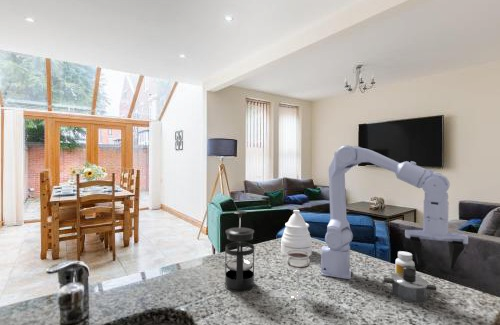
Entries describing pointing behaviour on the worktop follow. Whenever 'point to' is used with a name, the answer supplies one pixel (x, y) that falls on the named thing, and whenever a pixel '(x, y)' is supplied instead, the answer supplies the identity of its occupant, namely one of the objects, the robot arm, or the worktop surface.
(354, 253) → the worktop surface
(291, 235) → the honey pot
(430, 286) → the pot
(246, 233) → the french press
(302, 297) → the wineglass
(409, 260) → the supplement bottle
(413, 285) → the lid
